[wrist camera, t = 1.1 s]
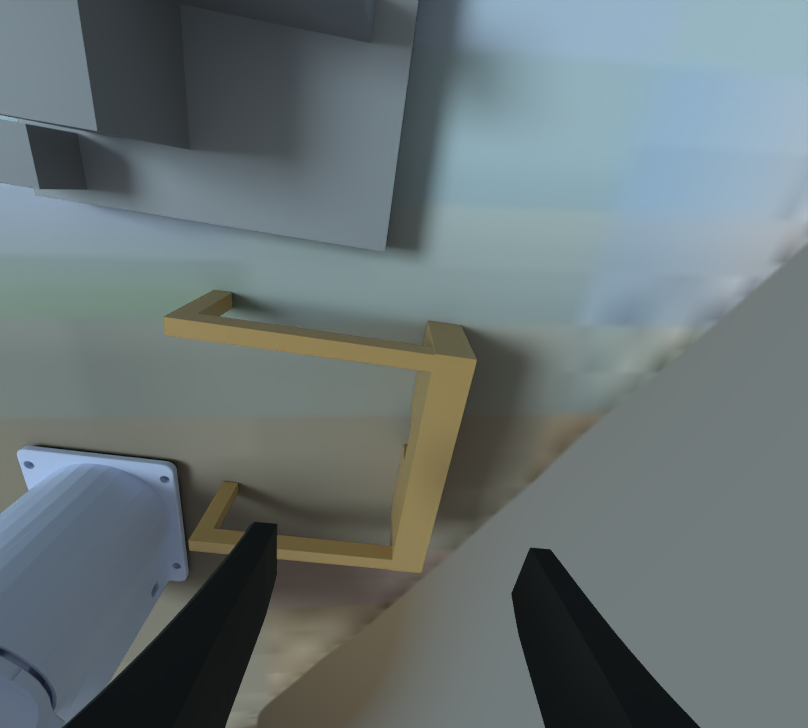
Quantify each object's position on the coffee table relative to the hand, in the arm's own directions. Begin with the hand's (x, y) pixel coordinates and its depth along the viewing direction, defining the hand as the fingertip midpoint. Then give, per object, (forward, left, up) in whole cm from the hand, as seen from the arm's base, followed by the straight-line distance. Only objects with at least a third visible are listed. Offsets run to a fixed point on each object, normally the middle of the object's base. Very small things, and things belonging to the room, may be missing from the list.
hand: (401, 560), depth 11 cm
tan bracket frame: (-2, +3, -9) cm, 10 cm away
